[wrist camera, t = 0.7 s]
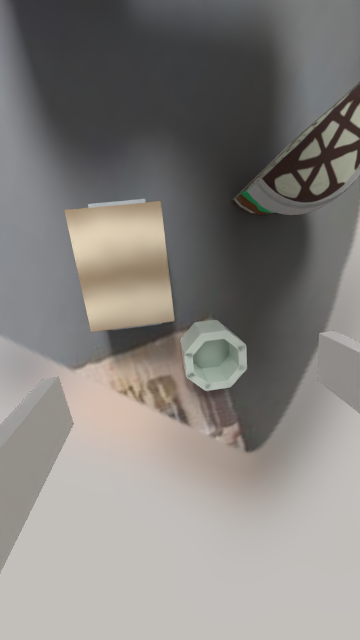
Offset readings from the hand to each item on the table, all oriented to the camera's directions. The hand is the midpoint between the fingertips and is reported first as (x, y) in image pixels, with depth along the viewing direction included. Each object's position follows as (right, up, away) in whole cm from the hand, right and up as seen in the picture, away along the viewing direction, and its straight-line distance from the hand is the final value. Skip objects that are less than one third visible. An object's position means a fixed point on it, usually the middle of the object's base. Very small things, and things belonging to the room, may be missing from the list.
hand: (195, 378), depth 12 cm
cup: (+3, -1, +21) cm, 22 cm away
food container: (+11, +19, +17) cm, 28 cm away
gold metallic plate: (-7, +9, +15) cm, 18 cm away
